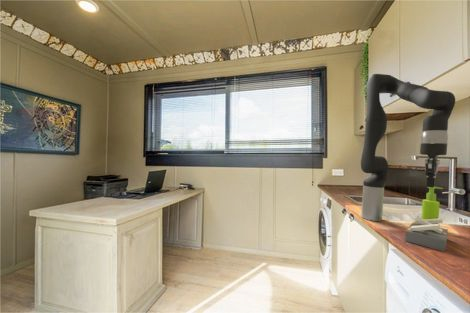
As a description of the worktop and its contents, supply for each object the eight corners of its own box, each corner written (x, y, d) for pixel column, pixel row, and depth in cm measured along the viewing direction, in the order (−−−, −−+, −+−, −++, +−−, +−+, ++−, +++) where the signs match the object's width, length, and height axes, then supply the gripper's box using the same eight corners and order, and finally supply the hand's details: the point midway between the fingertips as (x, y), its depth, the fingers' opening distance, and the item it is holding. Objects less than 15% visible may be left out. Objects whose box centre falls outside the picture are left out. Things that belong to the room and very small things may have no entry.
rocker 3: (413, 229, 84) (411, 226, 84) (440, 227, 78) (439, 223, 78) (411, 230, 81) (410, 227, 82) (439, 228, 76) (438, 225, 76)
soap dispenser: (443, 231, 94) (446, 188, 94) (426, 229, 96) (429, 187, 95) (434, 227, 100) (437, 186, 100) (417, 225, 101) (420, 185, 101)
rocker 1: (417, 222, 92) (416, 219, 92) (442, 221, 86) (441, 218, 86) (416, 224, 89) (415, 221, 90) (442, 222, 84) (441, 219, 84)
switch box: (412, 230, 94) (412, 218, 94) (447, 238, 86) (448, 226, 86) (404, 240, 82) (405, 227, 82) (444, 251, 74) (445, 236, 73)
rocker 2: (416, 218, 87) (417, 216, 87) (440, 232, 82) (442, 229, 81) (414, 219, 85) (416, 217, 85) (440, 233, 80) (442, 231, 79)
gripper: (423, 143, 87) (420, 184, 88) (417, 141, 79) (414, 186, 79) (448, 143, 82) (445, 187, 82) (446, 141, 73) (442, 190, 74)
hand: (430, 187), depth 81 cm, fingers closed
